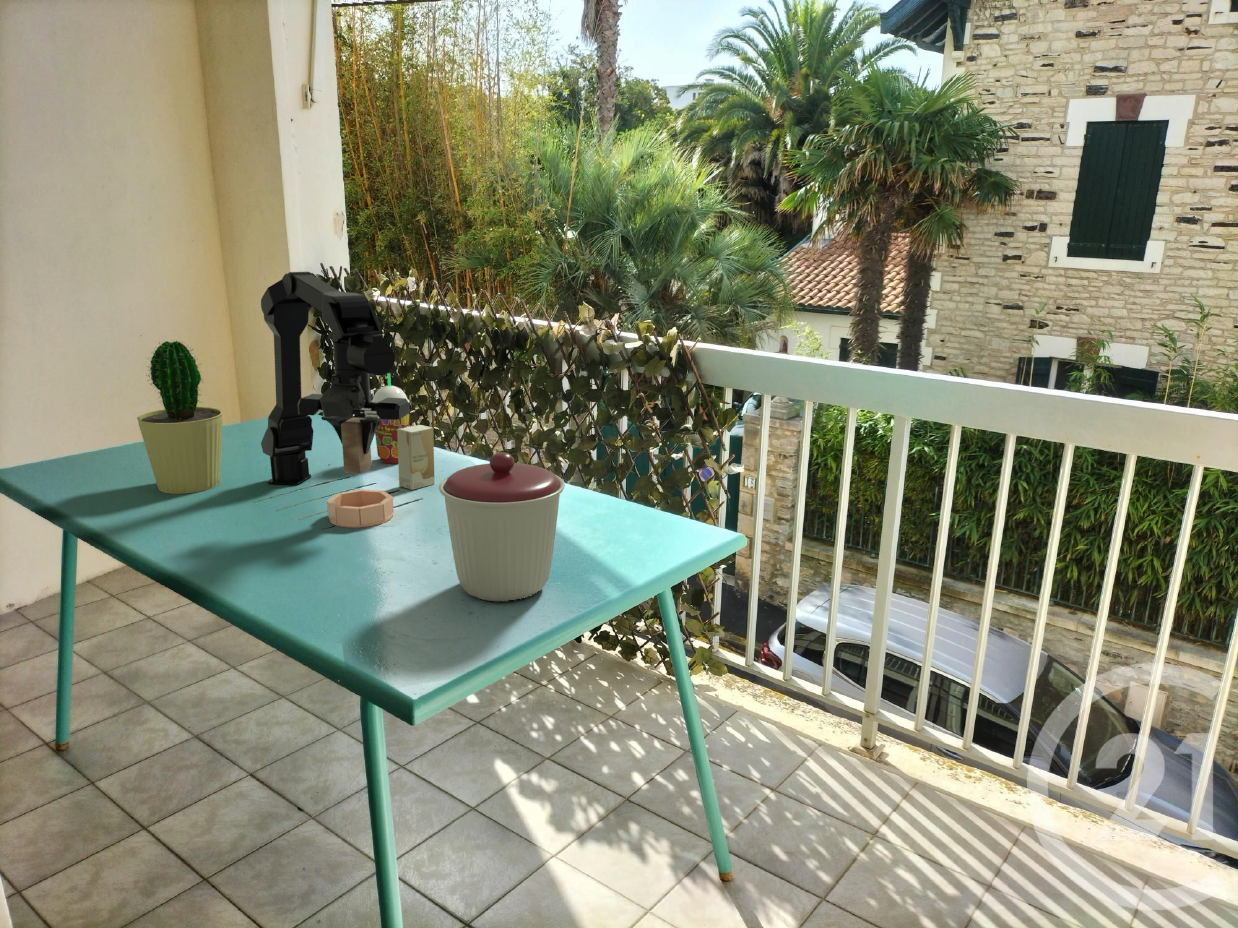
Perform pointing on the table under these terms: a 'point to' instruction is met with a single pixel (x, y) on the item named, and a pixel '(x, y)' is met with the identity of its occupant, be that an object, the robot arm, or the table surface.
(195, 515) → the table surface
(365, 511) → the peach octagonal dish
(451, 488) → the canister
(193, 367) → the potted cactus
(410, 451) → the skincare box
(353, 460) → the tall tan cardboard carton
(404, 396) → the smoothie
